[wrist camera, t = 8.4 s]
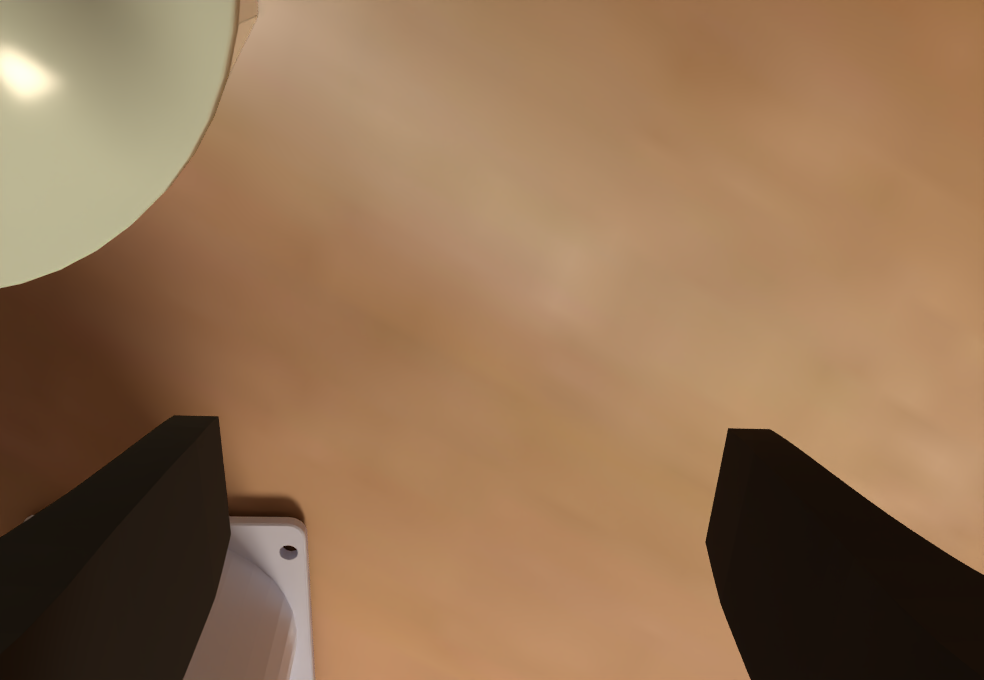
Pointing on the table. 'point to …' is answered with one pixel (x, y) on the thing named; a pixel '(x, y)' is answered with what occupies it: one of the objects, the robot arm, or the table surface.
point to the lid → (99, 117)
